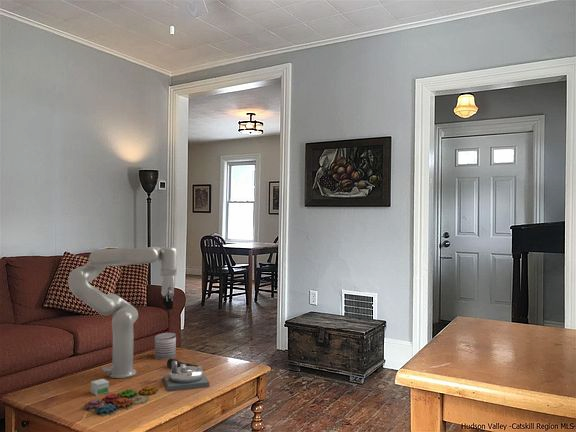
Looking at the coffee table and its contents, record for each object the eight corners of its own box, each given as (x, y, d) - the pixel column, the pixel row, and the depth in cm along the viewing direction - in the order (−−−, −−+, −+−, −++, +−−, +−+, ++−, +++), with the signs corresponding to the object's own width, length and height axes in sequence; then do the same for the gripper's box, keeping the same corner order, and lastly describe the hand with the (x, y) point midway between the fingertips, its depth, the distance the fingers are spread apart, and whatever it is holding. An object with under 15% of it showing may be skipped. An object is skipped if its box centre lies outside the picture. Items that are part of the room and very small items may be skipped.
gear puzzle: (146, 387, 210) (146, 378, 210) (169, 395, 200) (169, 386, 200) (80, 409, 184) (80, 398, 185) (104, 419, 175) (104, 408, 175)
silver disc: (206, 380, 212) (206, 362, 212) (172, 384, 206) (173, 366, 206) (197, 370, 226) (198, 354, 226) (166, 374, 219) (166, 357, 220)
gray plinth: (168, 391, 204) (168, 379, 204) (163, 378, 221) (163, 367, 221) (209, 386, 211) (209, 375, 211) (201, 374, 227) (201, 364, 228)
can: (175, 359, 253) (175, 336, 253) (153, 360, 250) (154, 337, 251) (175, 353, 264) (176, 332, 264) (155, 354, 261) (155, 332, 262)
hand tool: (198, 372, 232) (198, 362, 232) (192, 374, 229) (193, 364, 229) (171, 365, 242) (171, 356, 242) (165, 367, 239) (165, 358, 239)
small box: (96, 396, 197) (96, 384, 197) (90, 392, 201) (90, 381, 201) (109, 392, 201) (109, 381, 202) (103, 389, 205) (103, 378, 205)
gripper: (158, 270, 235) (158, 305, 234) (162, 274, 219) (161, 311, 218) (173, 270, 238) (173, 304, 237) (178, 274, 221) (178, 310, 221)
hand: (167, 307), depth 228 cm, fingers open, 9 cm apart
